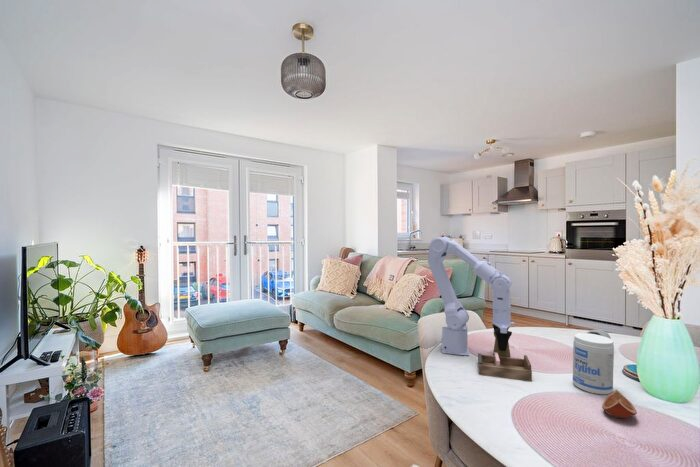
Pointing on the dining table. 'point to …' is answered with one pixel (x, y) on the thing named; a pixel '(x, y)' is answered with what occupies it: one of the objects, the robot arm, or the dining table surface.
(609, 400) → the brown wedge piece
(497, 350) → the olive bulbous piece
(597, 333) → the ceramic mug
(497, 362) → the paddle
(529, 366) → the open box
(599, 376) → the supplement tub
